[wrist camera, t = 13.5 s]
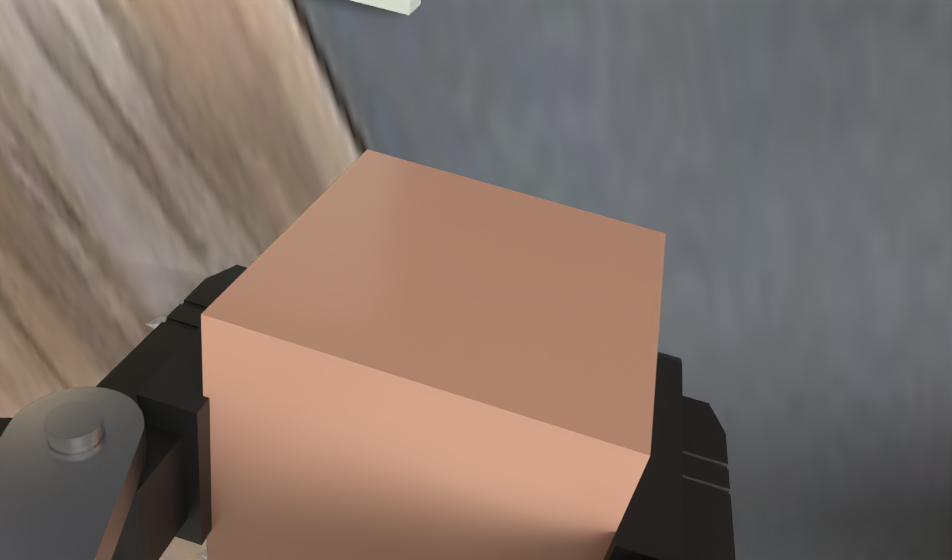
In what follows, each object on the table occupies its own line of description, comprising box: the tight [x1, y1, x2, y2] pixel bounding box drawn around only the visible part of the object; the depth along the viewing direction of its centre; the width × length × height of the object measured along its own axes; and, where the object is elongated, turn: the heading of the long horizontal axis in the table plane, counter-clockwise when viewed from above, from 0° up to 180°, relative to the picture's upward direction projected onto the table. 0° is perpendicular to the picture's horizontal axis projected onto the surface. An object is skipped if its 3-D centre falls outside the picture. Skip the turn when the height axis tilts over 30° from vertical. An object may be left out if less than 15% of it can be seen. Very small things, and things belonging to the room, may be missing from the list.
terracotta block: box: [201, 149, 666, 560], centre depth 10 cm, size 4×4×4 cm
